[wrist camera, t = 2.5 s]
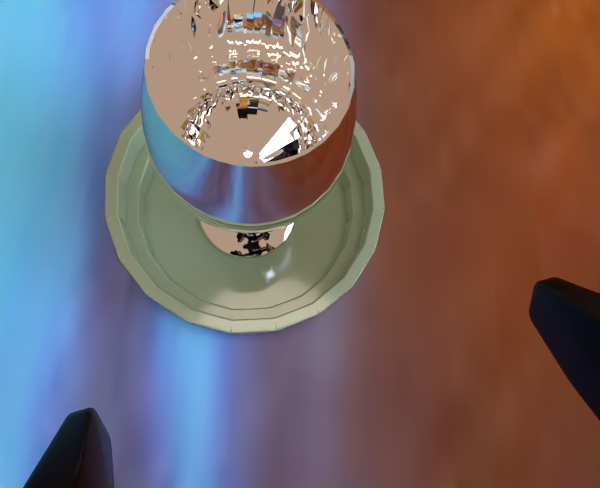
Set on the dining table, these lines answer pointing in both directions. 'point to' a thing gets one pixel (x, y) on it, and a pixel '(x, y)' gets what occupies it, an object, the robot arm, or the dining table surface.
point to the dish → (235, 271)
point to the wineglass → (248, 115)
